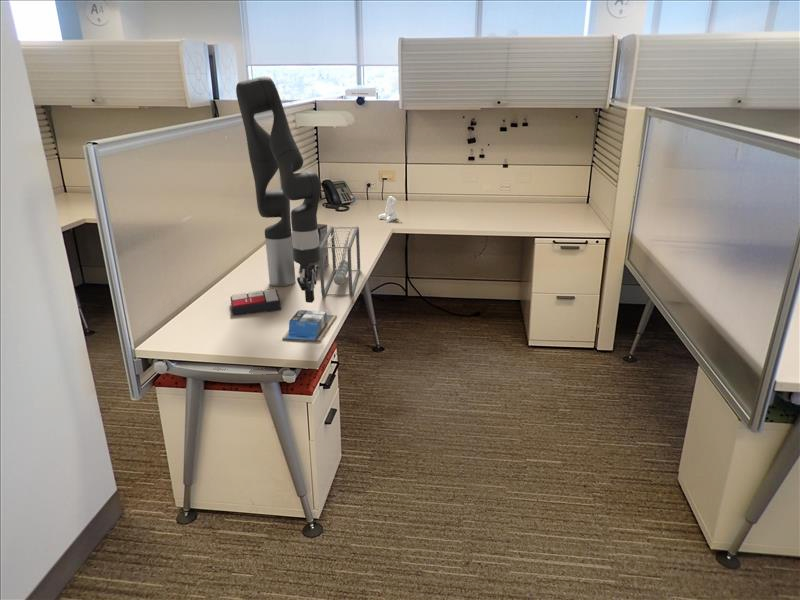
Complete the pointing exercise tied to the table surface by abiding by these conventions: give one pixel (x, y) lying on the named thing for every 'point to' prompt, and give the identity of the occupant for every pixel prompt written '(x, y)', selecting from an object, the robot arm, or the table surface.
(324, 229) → the coffee box
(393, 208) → the sitting furry creature
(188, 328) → the table surface
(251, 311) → the black red flat box
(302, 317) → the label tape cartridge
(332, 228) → the newton's cradle
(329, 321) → the mat
